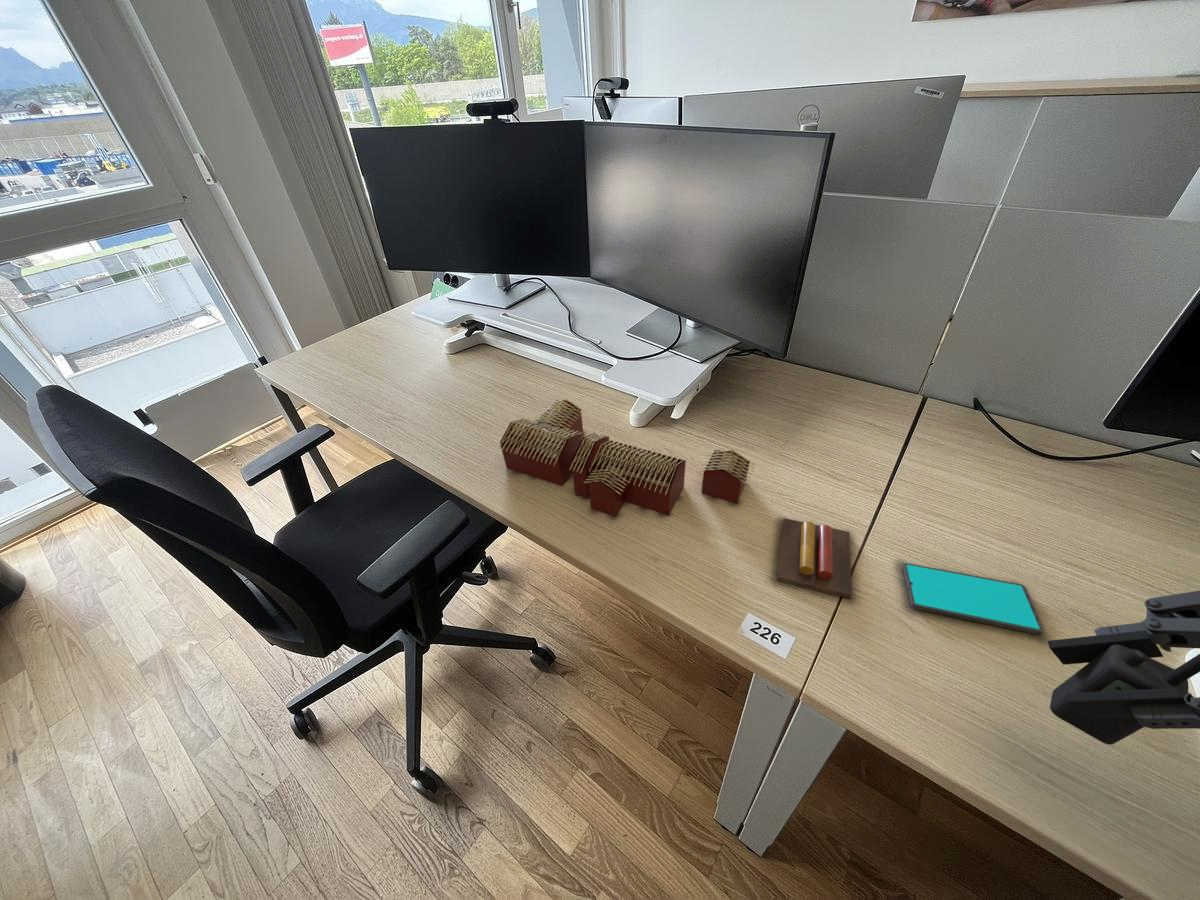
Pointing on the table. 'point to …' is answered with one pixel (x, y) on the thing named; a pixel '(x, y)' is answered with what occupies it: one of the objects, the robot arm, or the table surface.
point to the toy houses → (611, 464)
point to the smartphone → (971, 598)
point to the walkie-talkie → (1118, 688)
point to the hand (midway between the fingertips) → (1065, 678)
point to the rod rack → (815, 557)
